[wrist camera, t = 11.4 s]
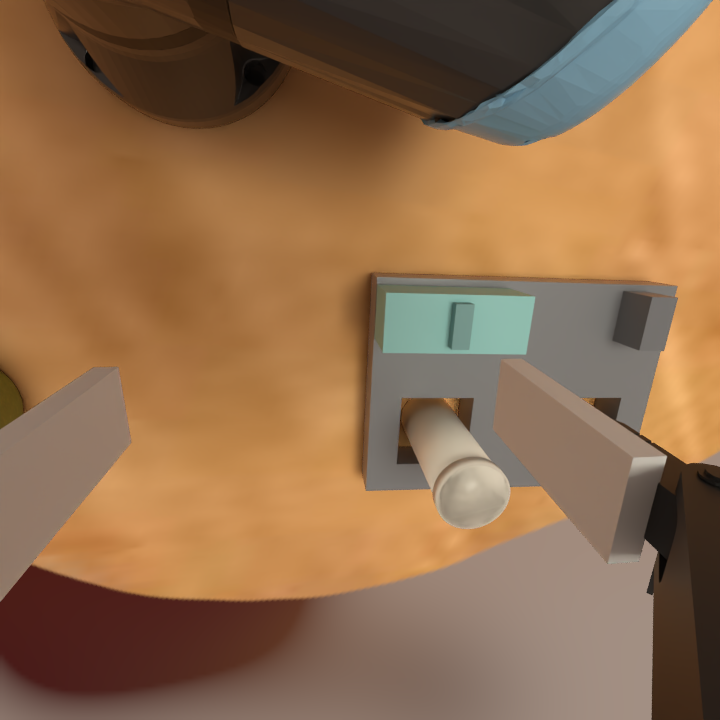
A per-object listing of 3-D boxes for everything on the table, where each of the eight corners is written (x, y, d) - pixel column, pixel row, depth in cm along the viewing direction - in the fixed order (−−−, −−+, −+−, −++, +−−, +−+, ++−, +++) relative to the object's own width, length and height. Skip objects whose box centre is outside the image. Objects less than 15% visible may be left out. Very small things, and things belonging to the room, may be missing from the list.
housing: (371, 272, 34) (383, 282, 28) (649, 281, 37) (711, 291, 31) (362, 471, 39) (370, 513, 33) (604, 466, 42) (650, 504, 36)
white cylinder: (401, 391, 37) (440, 463, 26) (454, 391, 38) (515, 462, 26) (397, 440, 39) (432, 530, 27) (448, 440, 39) (504, 527, 28)
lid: (377, 284, 31) (388, 294, 26) (509, 288, 32) (541, 298, 27) (374, 338, 32) (384, 356, 27) (501, 339, 33) (531, 357, 29)
